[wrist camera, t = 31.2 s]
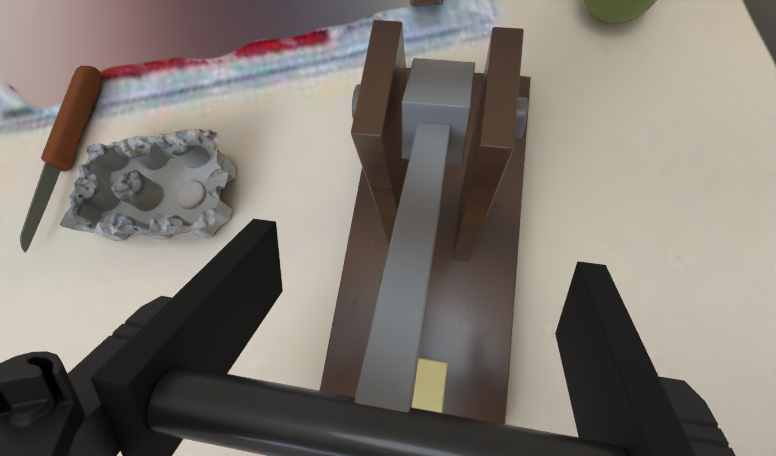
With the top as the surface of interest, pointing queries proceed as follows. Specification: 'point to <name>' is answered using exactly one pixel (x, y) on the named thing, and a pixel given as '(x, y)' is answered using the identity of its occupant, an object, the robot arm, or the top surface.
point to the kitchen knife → (62, 143)
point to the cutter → (386, 340)
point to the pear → (618, 9)
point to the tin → (424, 2)
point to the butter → (430, 385)
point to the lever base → (440, 227)
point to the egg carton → (152, 187)
